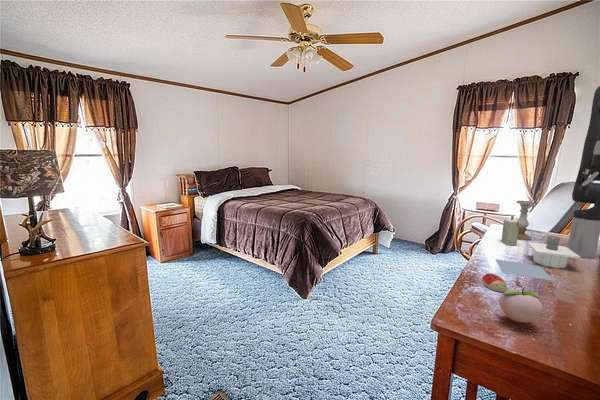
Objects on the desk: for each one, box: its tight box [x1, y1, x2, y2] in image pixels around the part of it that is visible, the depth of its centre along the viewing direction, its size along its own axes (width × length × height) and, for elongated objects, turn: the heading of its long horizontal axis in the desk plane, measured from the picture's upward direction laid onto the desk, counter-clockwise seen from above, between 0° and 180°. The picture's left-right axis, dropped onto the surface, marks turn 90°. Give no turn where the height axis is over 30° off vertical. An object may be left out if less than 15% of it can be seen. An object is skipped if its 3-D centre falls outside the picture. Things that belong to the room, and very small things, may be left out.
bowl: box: [532, 250, 569, 269], centre depth 112 cm, size 10×10×6 cm
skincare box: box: [500, 218, 520, 247], centre depth 138 cm, size 6×4×12 cm
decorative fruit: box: [498, 287, 544, 323], centre depth 72 cm, size 9×8×10 cm
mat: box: [494, 258, 554, 282], centre depth 107 cm, size 15×15×1 cm
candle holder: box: [515, 200, 535, 241], centre depth 147 cm, size 9×9×20 cm
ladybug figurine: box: [481, 272, 508, 293], centre depth 94 cm, size 7×10×4 cm
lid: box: [526, 235, 581, 260], centre depth 111 cm, size 13×13×6 cm
